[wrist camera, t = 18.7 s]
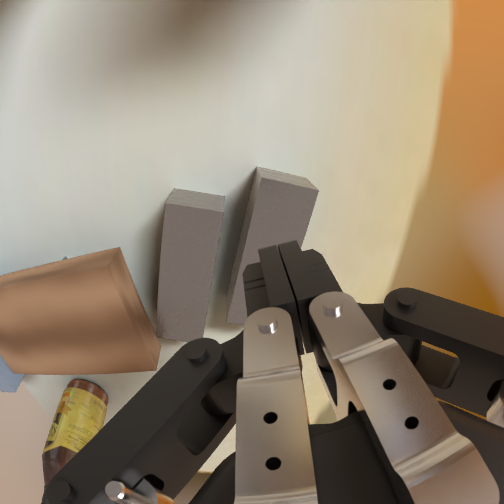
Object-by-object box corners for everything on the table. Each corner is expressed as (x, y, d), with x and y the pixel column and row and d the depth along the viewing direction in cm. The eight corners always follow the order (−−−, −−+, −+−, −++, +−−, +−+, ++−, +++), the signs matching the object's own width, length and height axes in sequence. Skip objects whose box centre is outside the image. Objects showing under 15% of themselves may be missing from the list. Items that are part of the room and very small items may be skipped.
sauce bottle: (66, 370, 32) (19, 503, 14) (110, 385, 33) (77, 527, 16) (69, 397, 35) (33, 515, 17) (109, 411, 36) (84, 534, 18)
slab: (-20, 281, 22) (-36, 297, 19) (119, 247, 22) (107, 266, 19) (23, 355, 26) (13, 373, 24) (161, 346, 26) (156, 370, 23)
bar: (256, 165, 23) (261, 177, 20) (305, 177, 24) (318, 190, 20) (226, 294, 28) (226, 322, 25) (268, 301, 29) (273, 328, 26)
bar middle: (174, 187, 24) (165, 202, 20) (224, 195, 24) (224, 212, 21) (163, 309, 29) (156, 337, 25) (203, 315, 29) (201, 343, 26)
